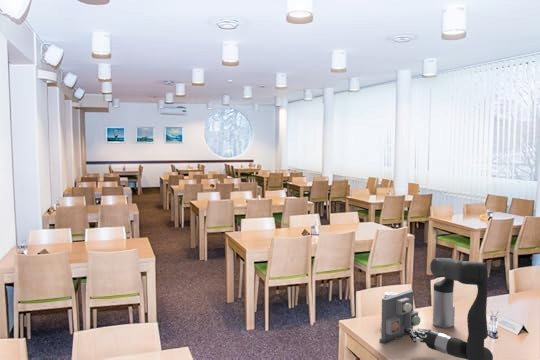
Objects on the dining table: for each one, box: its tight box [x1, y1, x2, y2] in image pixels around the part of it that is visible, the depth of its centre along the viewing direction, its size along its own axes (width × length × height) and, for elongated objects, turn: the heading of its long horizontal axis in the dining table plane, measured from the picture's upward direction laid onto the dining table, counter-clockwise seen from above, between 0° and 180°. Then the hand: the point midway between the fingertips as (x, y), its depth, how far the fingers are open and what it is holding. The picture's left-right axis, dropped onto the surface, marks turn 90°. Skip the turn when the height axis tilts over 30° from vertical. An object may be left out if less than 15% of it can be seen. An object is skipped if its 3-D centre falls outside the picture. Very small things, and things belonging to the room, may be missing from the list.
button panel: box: [379, 290, 419, 345], centre depth 220 cm, size 6×21×20 cm, turn 129°
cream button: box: [402, 302, 412, 313], centre depth 217 cm, size 2×4×4 cm, turn 129°
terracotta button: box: [392, 322, 399, 331], centre depth 215 cm, size 2×4×4 cm, turn 129°
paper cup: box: [383, 291, 399, 299], centre depth 243 cm, size 8×8×14 cm
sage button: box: [411, 315, 421, 326], centre depth 222 cm, size 2×4×4 cm, turn 129°
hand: (405, 329), depth 210 cm, fingers closed
